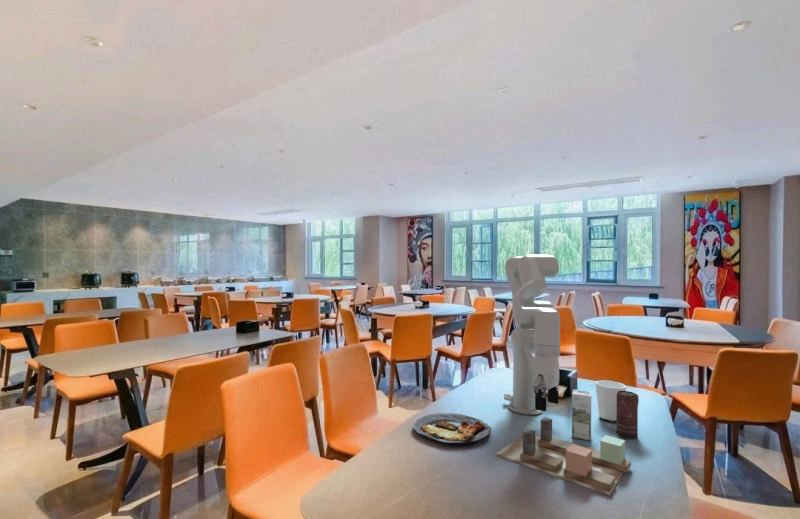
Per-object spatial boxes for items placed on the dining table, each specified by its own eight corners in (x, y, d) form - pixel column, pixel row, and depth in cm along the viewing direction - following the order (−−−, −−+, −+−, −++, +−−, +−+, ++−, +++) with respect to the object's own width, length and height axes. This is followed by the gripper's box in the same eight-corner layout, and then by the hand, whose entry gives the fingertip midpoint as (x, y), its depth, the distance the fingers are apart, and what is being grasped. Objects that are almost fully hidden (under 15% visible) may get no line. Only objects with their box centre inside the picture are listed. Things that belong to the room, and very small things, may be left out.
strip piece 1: (520, 459, 113) (520, 432, 113) (527, 453, 117) (527, 427, 117) (556, 472, 106) (556, 443, 106) (562, 465, 110) (562, 437, 110)
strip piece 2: (563, 475, 105) (563, 469, 105) (570, 468, 109) (570, 462, 109) (609, 492, 98) (609, 484, 98) (615, 483, 101) (615, 476, 101)
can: (641, 440, 128) (641, 396, 129) (619, 438, 130) (620, 395, 130) (634, 432, 134) (634, 390, 135) (613, 431, 136) (614, 389, 136)
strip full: (538, 445, 122) (538, 420, 122) (544, 439, 126) (544, 415, 126) (626, 472, 106) (626, 444, 106) (631, 465, 110) (631, 438, 110)
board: (496, 455, 117) (496, 453, 117) (526, 434, 132) (526, 432, 132) (609, 495, 97) (609, 492, 97) (628, 465, 112) (628, 463, 112)
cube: (600, 459, 111) (600, 440, 111) (605, 452, 114) (605, 435, 115) (620, 465, 107) (620, 446, 107) (624, 458, 111) (625, 440, 111)
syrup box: (591, 434, 133) (591, 390, 133) (591, 441, 127) (591, 395, 127) (572, 431, 135) (572, 388, 135) (571, 438, 130) (571, 393, 130)
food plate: (503, 432, 133) (503, 421, 134) (464, 456, 116) (463, 444, 117) (443, 414, 151) (442, 405, 151) (400, 433, 133) (400, 423, 134)
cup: (596, 421, 144) (596, 386, 144) (594, 412, 153) (594, 379, 153) (628, 426, 140) (628, 389, 140) (624, 416, 149) (624, 382, 149)
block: (565, 469, 105) (565, 450, 105) (572, 462, 108) (572, 444, 108) (585, 476, 101) (586, 456, 101) (591, 469, 105) (592, 449, 105)
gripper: (545, 345, 132) (545, 397, 132) (523, 352, 119) (523, 410, 119) (569, 348, 127) (569, 402, 127) (548, 355, 114) (548, 416, 114)
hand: (547, 406), depth 123 cm, fingers open, 9 cm apart
